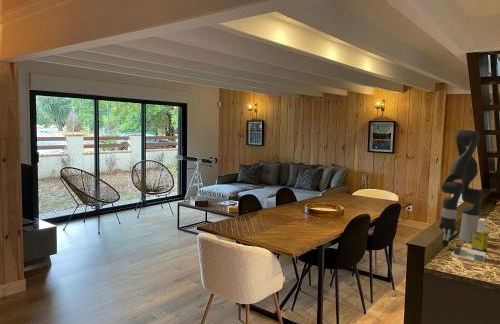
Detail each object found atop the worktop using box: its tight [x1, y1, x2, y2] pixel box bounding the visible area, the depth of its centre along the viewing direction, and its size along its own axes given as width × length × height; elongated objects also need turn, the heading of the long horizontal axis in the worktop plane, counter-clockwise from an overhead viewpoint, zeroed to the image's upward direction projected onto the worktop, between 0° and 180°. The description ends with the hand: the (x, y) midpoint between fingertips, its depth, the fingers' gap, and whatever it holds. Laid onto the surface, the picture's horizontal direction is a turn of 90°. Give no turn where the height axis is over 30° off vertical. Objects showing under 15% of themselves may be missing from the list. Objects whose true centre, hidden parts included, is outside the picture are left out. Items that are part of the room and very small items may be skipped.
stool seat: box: [451, 247, 487, 263], centre depth 203 cm, size 21×15×2 cm
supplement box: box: [471, 230, 490, 252], centre depth 217 cm, size 6×6×11 cm
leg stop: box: [473, 254, 484, 263], centre depth 192 cm, size 2×4×2 cm, turn 56°
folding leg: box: [453, 242, 463, 255], centre depth 205 cm, size 14×2×4 cm, turn 146°
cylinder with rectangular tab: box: [478, 217, 490, 233], centre depth 246 cm, size 9×9×12 cm
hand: (444, 246), depth 211 cm, fingers closed
